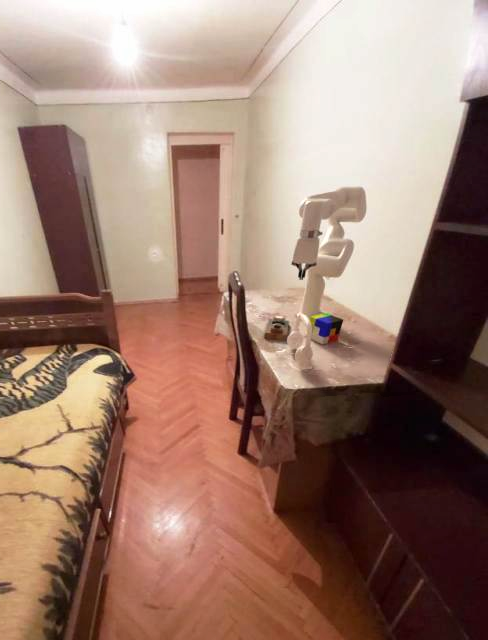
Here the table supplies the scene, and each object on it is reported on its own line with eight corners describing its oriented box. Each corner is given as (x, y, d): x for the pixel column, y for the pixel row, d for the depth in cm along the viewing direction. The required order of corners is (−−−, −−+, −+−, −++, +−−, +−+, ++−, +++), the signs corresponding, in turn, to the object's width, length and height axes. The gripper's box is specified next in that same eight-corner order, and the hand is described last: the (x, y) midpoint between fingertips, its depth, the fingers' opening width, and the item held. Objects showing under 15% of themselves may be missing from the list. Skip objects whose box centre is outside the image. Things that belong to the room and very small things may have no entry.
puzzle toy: (322, 344, 144) (327, 323, 138) (306, 336, 151) (310, 316, 146) (337, 340, 148) (343, 319, 142) (321, 333, 155) (326, 313, 150)
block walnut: (287, 332, 156) (288, 324, 153) (285, 340, 148) (287, 331, 145) (266, 330, 158) (267, 321, 156) (264, 338, 150) (265, 329, 148)
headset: (284, 348, 141) (291, 308, 131) (300, 348, 141) (308, 308, 131) (294, 369, 124) (303, 326, 114) (312, 370, 124) (323, 326, 114)
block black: (288, 324, 165) (289, 317, 163) (287, 331, 157) (288, 324, 155) (268, 322, 167) (269, 315, 165) (266, 329, 159) (268, 321, 157)
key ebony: (280, 326, 151) (280, 323, 151) (280, 328, 149) (280, 325, 148) (274, 326, 152) (274, 322, 151) (274, 328, 150) (274, 325, 149)
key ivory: (282, 319, 161) (282, 316, 160) (281, 321, 158) (282, 318, 157) (275, 319, 162) (276, 315, 161) (275, 321, 159) (275, 317, 158)
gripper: (327, 233, 136) (318, 278, 146) (291, 232, 139) (284, 276, 150) (328, 236, 130) (318, 282, 140) (290, 235, 134) (283, 280, 144)
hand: (301, 279), depth 145 cm, fingers closed
